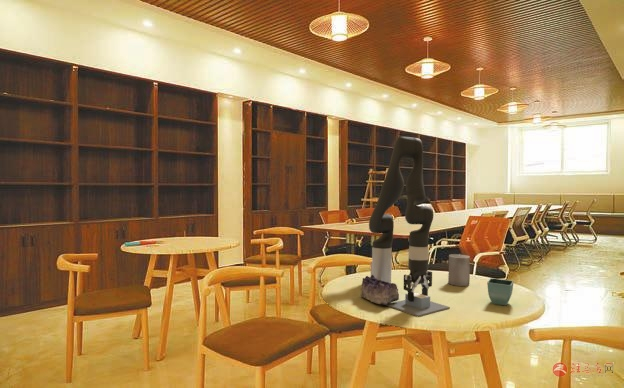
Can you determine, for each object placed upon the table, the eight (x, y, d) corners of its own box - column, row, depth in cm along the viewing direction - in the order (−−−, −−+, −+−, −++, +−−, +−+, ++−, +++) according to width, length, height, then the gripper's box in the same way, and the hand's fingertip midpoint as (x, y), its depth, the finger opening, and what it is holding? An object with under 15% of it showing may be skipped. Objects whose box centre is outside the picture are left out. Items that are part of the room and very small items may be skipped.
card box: (421, 309, 152) (421, 298, 152) (405, 303, 158) (405, 293, 158) (430, 307, 154) (430, 296, 154) (413, 301, 161) (414, 291, 161)
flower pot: (511, 308, 156) (511, 285, 156) (486, 304, 161) (487, 282, 161) (513, 302, 164) (513, 280, 163) (489, 299, 168) (490, 277, 168)
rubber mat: (386, 305, 158) (386, 304, 158) (417, 298, 168) (417, 297, 168) (418, 316, 145) (418, 315, 145) (449, 308, 155) (449, 306, 155)
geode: (350, 296, 170) (352, 272, 171) (372, 297, 176) (374, 273, 177) (379, 306, 152) (381, 279, 153) (403, 306, 158) (404, 280, 159)
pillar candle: (453, 280, 201) (454, 250, 201) (473, 284, 194) (473, 253, 194) (444, 283, 194) (445, 252, 194) (464, 287, 187) (464, 255, 187)
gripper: (423, 254, 163) (422, 294, 163) (398, 257, 155) (397, 300, 155) (438, 257, 157) (437, 299, 157) (413, 261, 149) (412, 305, 149)
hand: (417, 299), depth 156 cm, fingers open, 7 cm apart
